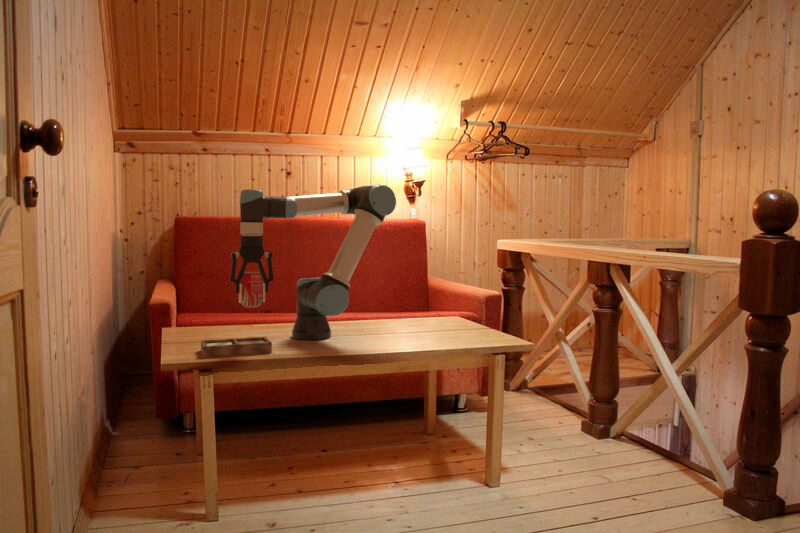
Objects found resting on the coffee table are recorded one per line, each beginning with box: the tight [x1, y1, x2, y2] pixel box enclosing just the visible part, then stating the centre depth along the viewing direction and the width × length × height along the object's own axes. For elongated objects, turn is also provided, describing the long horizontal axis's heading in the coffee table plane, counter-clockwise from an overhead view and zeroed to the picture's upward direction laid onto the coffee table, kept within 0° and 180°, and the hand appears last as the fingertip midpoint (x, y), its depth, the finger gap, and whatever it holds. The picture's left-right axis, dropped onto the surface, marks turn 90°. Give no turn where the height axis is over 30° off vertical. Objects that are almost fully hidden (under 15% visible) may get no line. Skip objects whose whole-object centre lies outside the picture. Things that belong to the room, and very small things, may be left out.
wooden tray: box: [200, 336, 273, 358], centre depth 193 cm, size 22×11×4 cm, turn 113°
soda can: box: [240, 270, 263, 309], centre depth 193 cm, size 7×7×12 cm
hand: (251, 302), depth 194 cm, fingers closed on soda can, 7 cm apart
